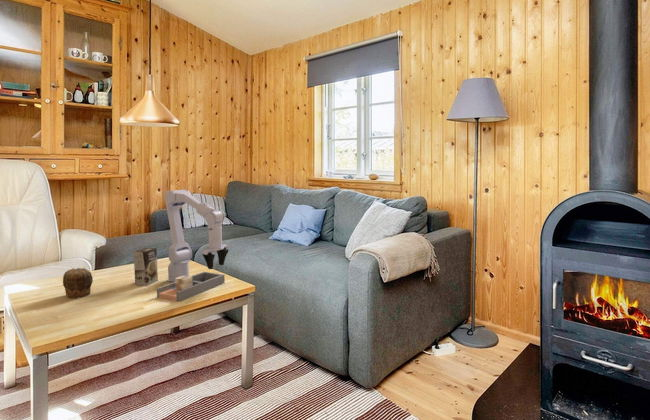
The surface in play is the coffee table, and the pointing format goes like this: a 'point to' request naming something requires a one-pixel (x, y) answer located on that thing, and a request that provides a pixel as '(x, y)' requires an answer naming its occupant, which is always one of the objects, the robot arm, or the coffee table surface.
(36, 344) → the coffee table surface
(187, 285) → the cream block
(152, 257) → the coffee box
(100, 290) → the coffee table surface
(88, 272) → the dark brown rounded lump
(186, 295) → the tray
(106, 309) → the coffee table surface
